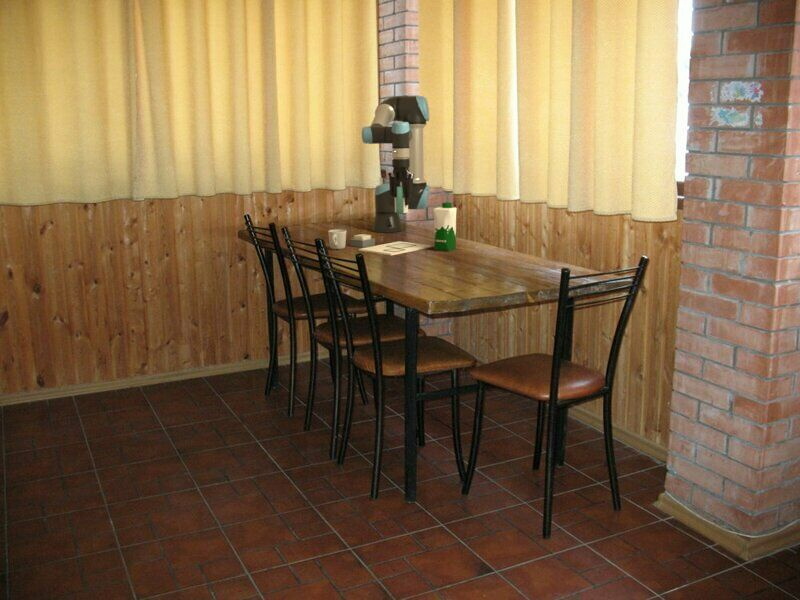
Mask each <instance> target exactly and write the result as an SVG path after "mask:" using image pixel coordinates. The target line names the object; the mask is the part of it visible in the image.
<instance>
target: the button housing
mask: <svg viewBox="0 0 800 600" xmlns="http://www.w3.org/2000/svg"><path fill="white" fill-rule="evenodd" d="M349 246H350V247H356V248H367V247H372V246H376V238H373V237H371V239H367V240H356V239H354V237H353V238H350V239H349Z"/></svg>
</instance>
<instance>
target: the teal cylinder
mask: <svg viewBox="0 0 800 600" xmlns="http://www.w3.org/2000/svg"><path fill="white" fill-rule="evenodd" d="M403 197H404V194H403V187H402V185H400V186H397V214H399V216H401V215H403V216H404V215H406V214H407V213H403Z"/></svg>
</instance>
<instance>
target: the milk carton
mask: <svg viewBox="0 0 800 600" xmlns="http://www.w3.org/2000/svg"><path fill="white" fill-rule="evenodd" d="M441 204H442V205H441V206H439V207H435V208H433V217H434V218H433V219H434V221H433V222H434V225H433V227H434V238H433V239H434V243H433V244H434V246H433V247H434V251H439V252H441V251H442V252H452V251H453V250H456V249H457V248H456V247H457V246H456V245H457V210H458V209H457V207H454V206H452V202H449V201H448V202H446V201H445V202H442V203H441Z"/></svg>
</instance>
